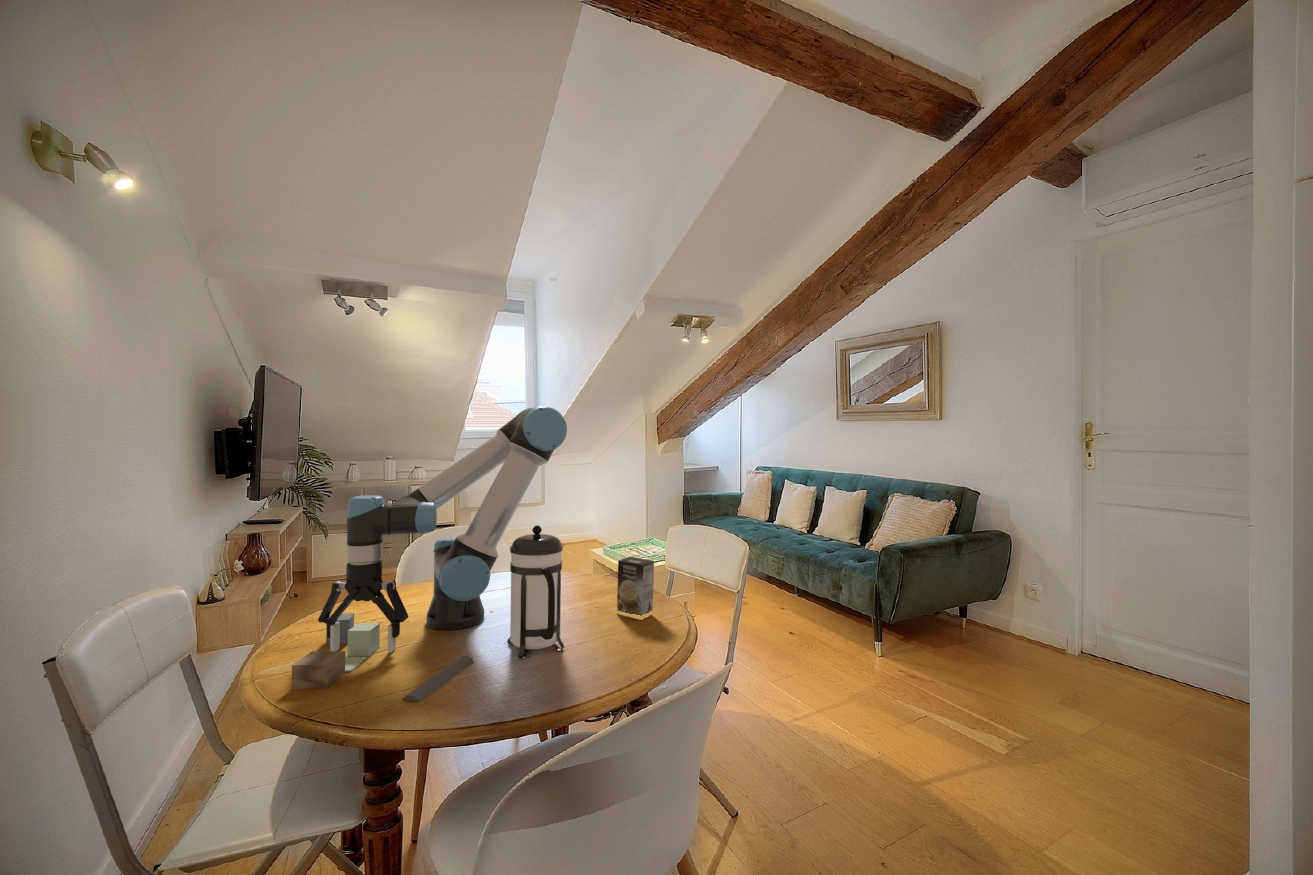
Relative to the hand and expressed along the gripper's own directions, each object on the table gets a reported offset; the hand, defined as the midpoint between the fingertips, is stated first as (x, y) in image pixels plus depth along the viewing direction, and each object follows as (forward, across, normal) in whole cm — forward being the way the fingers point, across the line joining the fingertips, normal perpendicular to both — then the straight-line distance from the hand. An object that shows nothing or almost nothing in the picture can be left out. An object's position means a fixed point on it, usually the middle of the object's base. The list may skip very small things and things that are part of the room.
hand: (363, 651), depth 128 cm
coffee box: (0, -65, -25) cm, 70 cm away
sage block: (0, 0, 0) cm, 0 cm away
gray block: (0, +9, -7) cm, 11 cm away
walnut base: (0, +2, +15) cm, 15 cm away
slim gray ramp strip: (+1, -23, +15) cm, 28 cm away
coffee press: (0, -41, -1) cm, 41 cm away
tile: (0, +1, +8) cm, 8 cm away
